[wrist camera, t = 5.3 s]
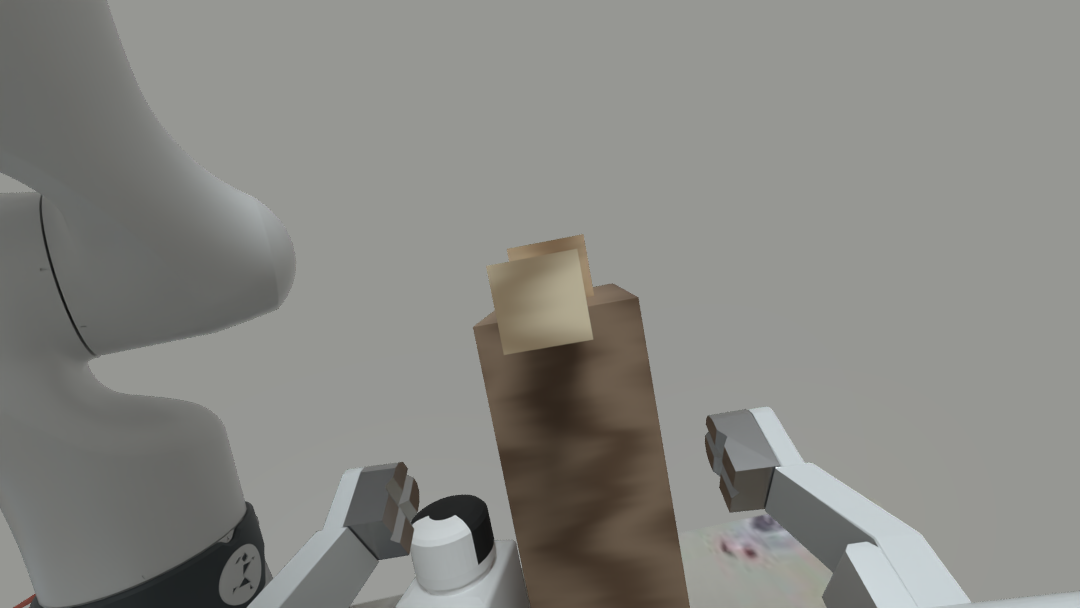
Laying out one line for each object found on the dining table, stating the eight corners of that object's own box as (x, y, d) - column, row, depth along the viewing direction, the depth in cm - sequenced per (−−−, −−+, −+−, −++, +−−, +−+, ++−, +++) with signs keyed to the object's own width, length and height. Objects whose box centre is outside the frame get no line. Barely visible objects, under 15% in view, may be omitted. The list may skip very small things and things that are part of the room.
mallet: (474, 359, 14) (450, 241, 14) (526, 300, 34) (517, 250, 34) (623, 334, 14) (602, 211, 14) (588, 288, 34) (580, 238, 34)
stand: (559, 747, 26) (473, 327, 24) (560, 593, 38) (503, 303, 35) (710, 731, 25) (638, 297, 23) (663, 580, 37) (612, 283, 35)
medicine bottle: (454, 615, 38) (425, 486, 37) (532, 616, 36) (504, 481, 35) (413, 698, 31) (376, 543, 30) (507, 705, 29) (471, 540, 28)
